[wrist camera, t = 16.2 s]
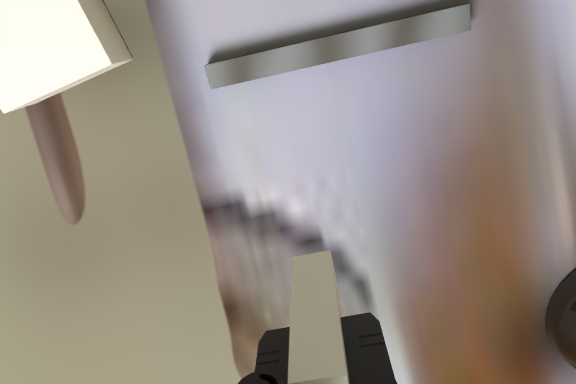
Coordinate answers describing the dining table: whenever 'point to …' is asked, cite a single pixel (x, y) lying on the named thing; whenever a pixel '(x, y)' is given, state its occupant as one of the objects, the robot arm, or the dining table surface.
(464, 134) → the dining table surface
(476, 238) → the dining table surface
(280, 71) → the twin grey rails
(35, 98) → the cream block
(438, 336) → the dining table surface
